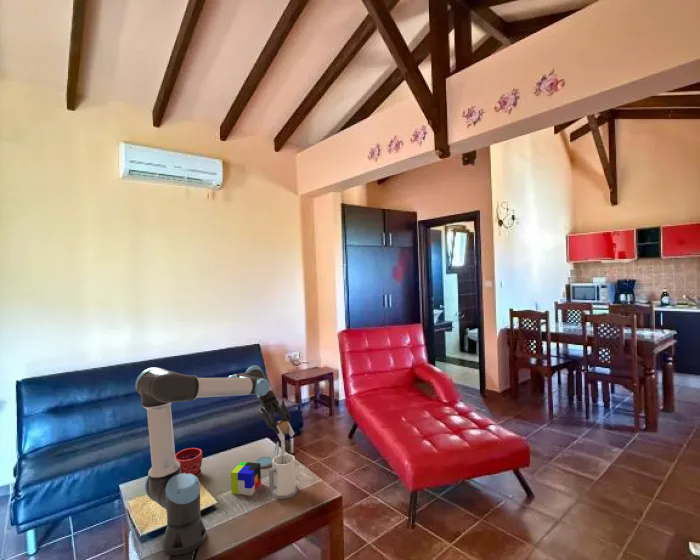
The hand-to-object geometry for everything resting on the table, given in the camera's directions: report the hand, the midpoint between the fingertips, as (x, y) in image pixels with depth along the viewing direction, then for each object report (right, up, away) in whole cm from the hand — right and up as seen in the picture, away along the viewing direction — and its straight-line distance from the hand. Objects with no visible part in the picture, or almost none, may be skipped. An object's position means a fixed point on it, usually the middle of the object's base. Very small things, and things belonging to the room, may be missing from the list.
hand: (287, 437), depth 172 cm
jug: (-2, -26, +3) cm, 27 cm away
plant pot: (-53, -28, +18) cm, 62 cm away
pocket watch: (-17, -27, +29) cm, 43 cm away
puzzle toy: (-20, -27, +6) cm, 35 cm away
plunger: (-2, -16, +3) cm, 16 cm away
